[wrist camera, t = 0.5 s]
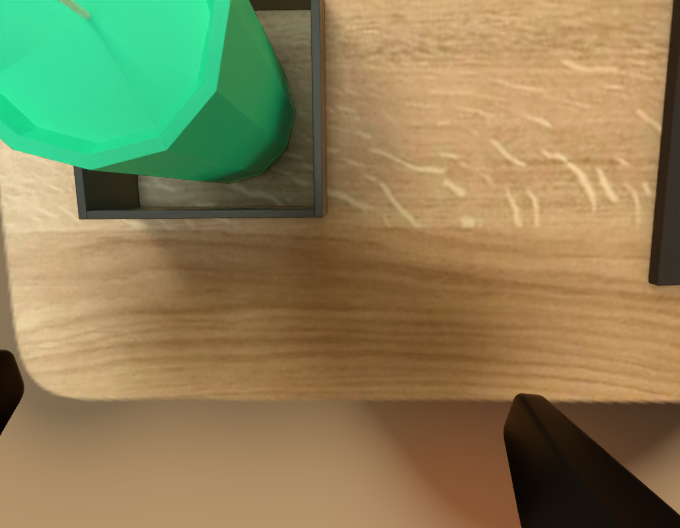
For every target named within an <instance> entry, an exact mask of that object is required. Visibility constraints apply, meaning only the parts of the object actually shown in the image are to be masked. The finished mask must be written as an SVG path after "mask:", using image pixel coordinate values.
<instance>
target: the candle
mask: <svg viewBox="0 0 680 528" xmlns="http://www.w3.org/2000/svg"><path fill="white" fill-rule="evenodd" d="M294 116H295V108H294V105H293V101H292V97H291V94H290V90H289V86H288V83H287V79H286V75H285V73H284V71H283V69H282V67H281V65H280V63H279V61H278V59H277V57H276V54H275V52H274V50H273V48H272V46H271V44H270V42H269V40H268V38H267V36H266V34H265V32H264V30H263V28H262V26H261V24H260V22H259V20H258V18H257V16H256V13H255V11H254V9H253V7H252V5H251V3H250V1H249V0H0V139H1V140H2V141H4V142H5V143H6V144H7V145H8V146H9V147H10V148H12V149H13V150H17V151H21V152H25V153H28V154H32V155H36V156H40V157H43V158H47V159H51V160H55V161H59V162H62V163H66V164H70V165H74V166H77V167H81V168H85V169H89V170H95V171H105V172H115V173H126V174H136V175H146V176H156V177H166V178H176V179H186V180H196V181H207V182H217V183H227V184H229V183H232V182H236V181H239V180H243V179H247V178H250V177H254V176H257V175H261V174H263V173H264V172H265V171H266V170H267V168H268V167H269V166H270V165H271V164H272V163H273V162H274V161H275V160H276V159H277V158H278V157H279V156H280V155H281V154H282V153H283V152H284V151H285V150H286V148H287V145H288V141H289V137H290V133H291V129H292V124H293V120H294Z"/></svg>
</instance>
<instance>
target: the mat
mask: <svg viewBox="0 0 680 528" xmlns="http://www.w3.org/2000/svg"><path fill="white" fill-rule="evenodd" d="M649 283H651V284H655V285H658V286H661V285H680V0H674V11H673V22H672V33H671V44H670V55H669V66H668V77H667V88H666V100H665V111H664V122H663V133H662V144H661V155H660V166H659V177H658V189H657V200H656V211H655V222H654V233H653V244H652V255H651V267H650V278H649Z"/></svg>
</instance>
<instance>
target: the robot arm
mask: <svg viewBox="0 0 680 528" xmlns="http://www.w3.org/2000/svg"><path fill="white" fill-rule="evenodd" d="M23 393H24V382H23V379H22V376H21V374H20V371H19V368H18V365H17V363H16V360H15V357H14V355H13V354H12V353H11V352H10V351H8V350H2V349H0V435H1V433H2V431H3V430H4V428H5V426H6V424H7V423H8V421H9V419H10V418H11V416H12V414H13V412H14V410H15V409H16V407H17V405H18V404H19V402H20V400H21V398H22V396H23ZM504 441H505V446H506V452H507V457H508V461H509V467H510V472H511V477H512V483H513V488H514V493H515V499H516V503H517V509H518V514H519V518H520V523H521V527H522V528H680V515H679V514H678V513H677V512H676V511H675V510H673V509H672V508H671V507H670V506H669V505H667V504H666V503H665V502H664V501H663V500H662V499H661V498H659V497H658V496H657V495H656V494H655V493H654V492H653V491H651V490H650V489H649V488H648V487H647V486H646V485H645V484H643V483H642V482H641V481H640V480H639V479H638V478H636V477H635V476H634V475H633V474H632V473H631V472H630V471H628V470H627V469H626V468H625V467H624V466H623V465H622V464H620V463H619V462H618V461H617V460H616V459H615V458H613V457H612V456H611V455H610V454H609V453H607V452H606V451H605V450H604V449H603V448H602V447H601V446H600V445H598V444H597V443H596V442H595V441H594V440H593V439H591V438H590V437H589V436H588V435H587V434H586V433H585V432H583V431H582V430H581V429H580V428H579V427H578V426H577V425H575V424H574V423H573V422H572V421H571V420H570V419H568V418H567V417H566V416H565V415H564V414H563V413H562V412H560V411H559V410H558V409H557V408H556V407H554V405H552V404H551V403H550V402H549V401H548V400H547V399H545V398H544V397H543V396H541V395H535V394H524V393H521V394H518V395H516V396H515V398H514V400H513V403H512V406H511V408H510V411H509V414H508V417H507V419H506V422H505V425H504Z"/></svg>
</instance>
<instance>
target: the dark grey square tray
mask: <svg viewBox="0 0 680 528" xmlns="http://www.w3.org/2000/svg"><path fill="white" fill-rule="evenodd" d="M249 1H250V3H251V5H252V7H253V9H254V10H281V9H311V44H312V100H313V157H314V206H254V207H139V199H138V187H137V175H136V174H126V173H115V172H105V171H95V170H89V169H85V168H81V167H77V166H74V165H73V166H74V176H75V185H76V195H77V205H78V214H79V219H194V218H314V217H316V218H318V217H323V216H324V215H325V214H326V213H327V148H326V72H325V1H324V0H249Z"/></svg>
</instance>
